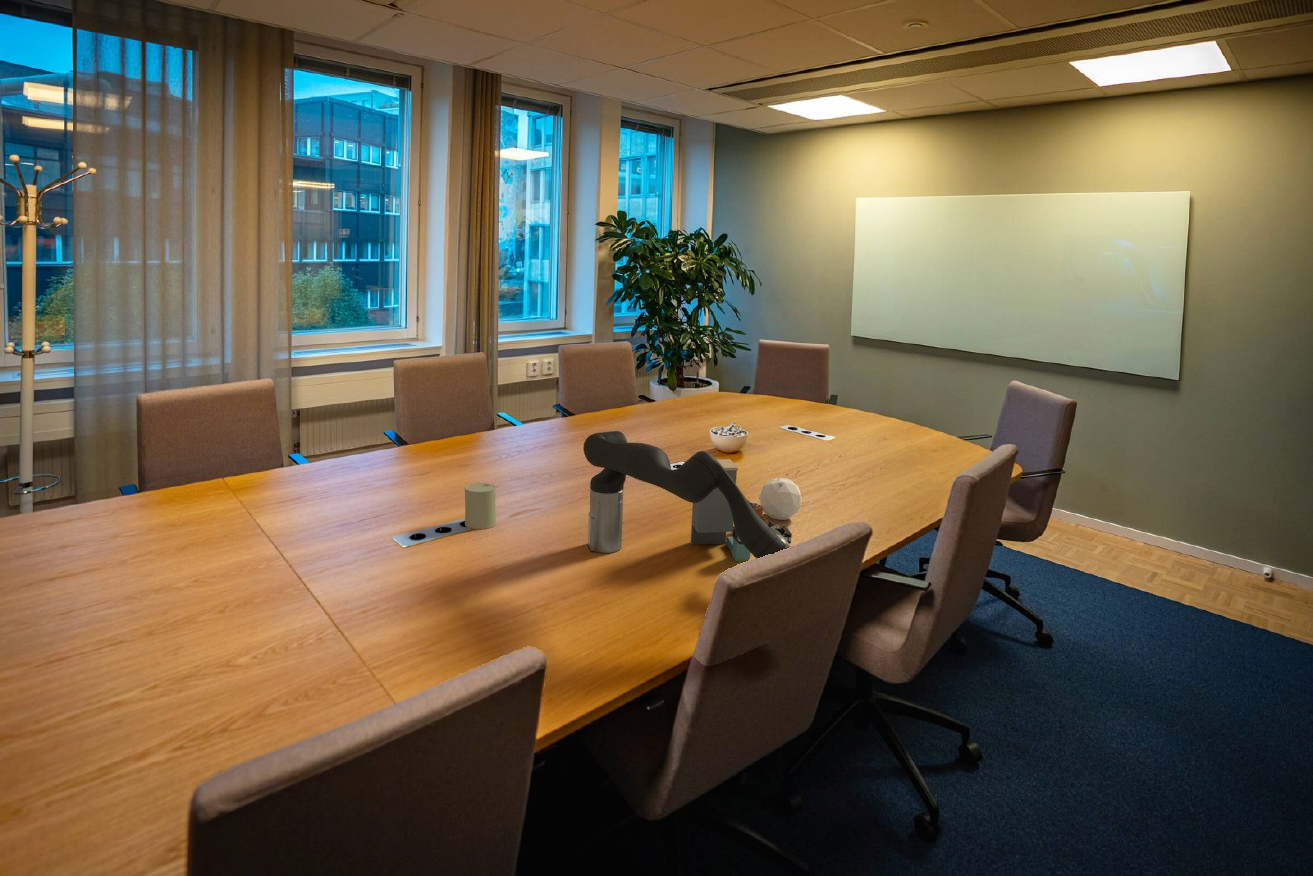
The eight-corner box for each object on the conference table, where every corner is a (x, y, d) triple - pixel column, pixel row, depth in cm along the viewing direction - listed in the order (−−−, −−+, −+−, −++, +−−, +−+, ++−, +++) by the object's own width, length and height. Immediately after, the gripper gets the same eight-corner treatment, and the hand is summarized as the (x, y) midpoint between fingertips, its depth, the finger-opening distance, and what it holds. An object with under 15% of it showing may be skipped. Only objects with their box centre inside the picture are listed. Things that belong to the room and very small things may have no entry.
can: (502, 523, 241) (502, 485, 238) (480, 531, 234) (480, 492, 231) (480, 516, 246) (480, 479, 243) (458, 524, 238) (457, 486, 235)
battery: (743, 528, 245) (745, 497, 243) (761, 534, 241) (764, 503, 238) (734, 532, 242) (736, 500, 239) (753, 538, 238) (755, 506, 235)
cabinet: (696, 553, 224) (700, 467, 218) (689, 542, 232) (694, 459, 226) (732, 552, 226) (737, 467, 220) (724, 541, 234) (730, 459, 228)
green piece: (735, 561, 220) (738, 519, 217) (724, 545, 231) (727, 505, 228) (749, 560, 221) (753, 519, 218) (738, 544, 232) (741, 505, 229)
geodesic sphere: (807, 512, 245) (805, 470, 250) (762, 510, 245) (761, 468, 250) (799, 526, 258) (798, 486, 263) (756, 524, 258) (756, 484, 263)
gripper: (802, 534, 195) (781, 510, 210) (746, 534, 192) (728, 510, 207) (799, 562, 197) (778, 537, 212) (743, 563, 194) (726, 537, 209)
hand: (753, 524), depth 210 cm, fingers open, 8 cm apart
